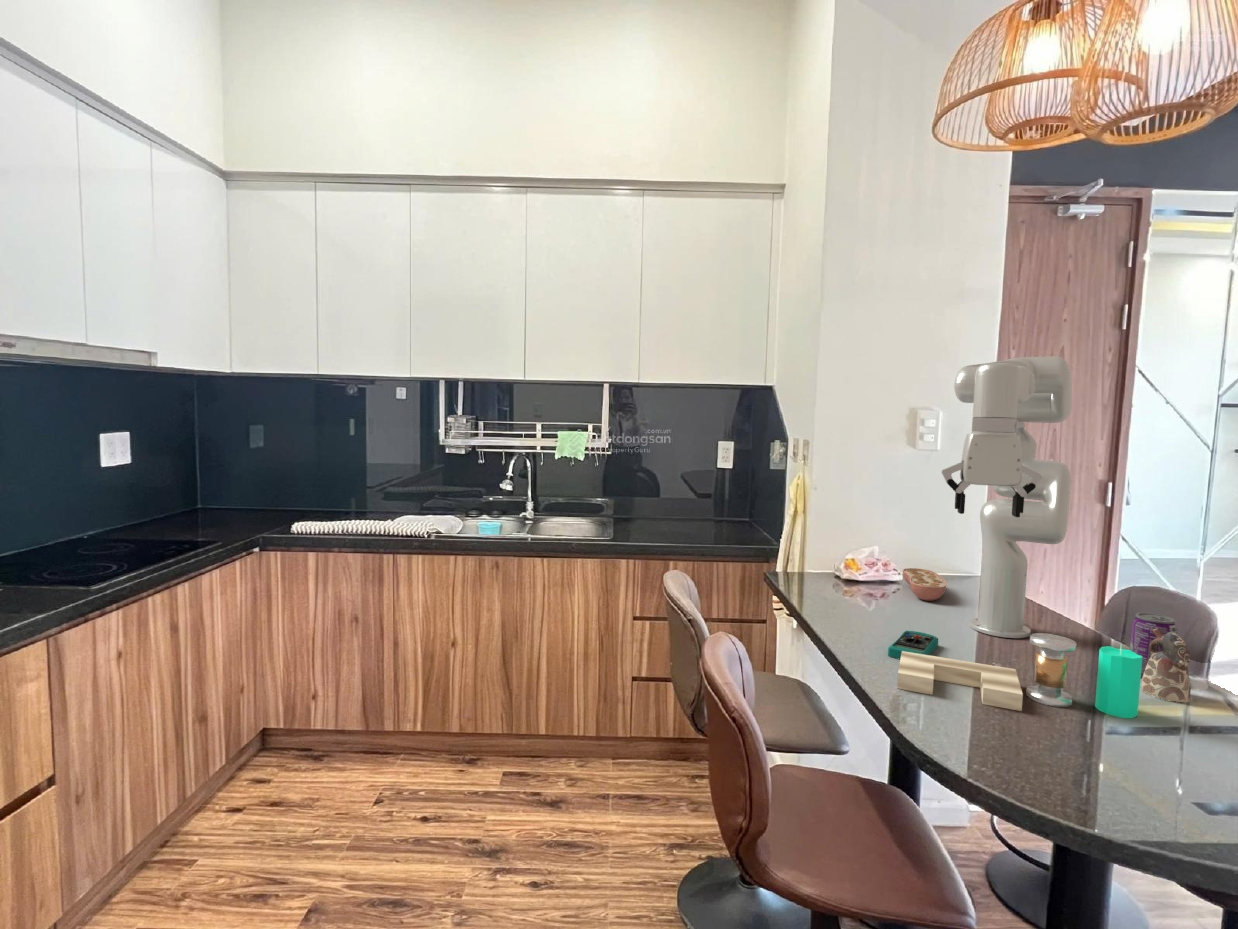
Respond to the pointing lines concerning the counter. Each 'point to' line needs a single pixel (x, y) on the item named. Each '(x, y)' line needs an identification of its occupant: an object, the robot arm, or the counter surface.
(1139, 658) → the candle
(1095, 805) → the counter surface
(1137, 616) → the beverage can
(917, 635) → the digital multimeter
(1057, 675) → the bobbin post
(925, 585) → the pink elongated rounded piece
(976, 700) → the counter surface
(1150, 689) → the figurine
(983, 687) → the notched board
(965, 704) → the counter surface
